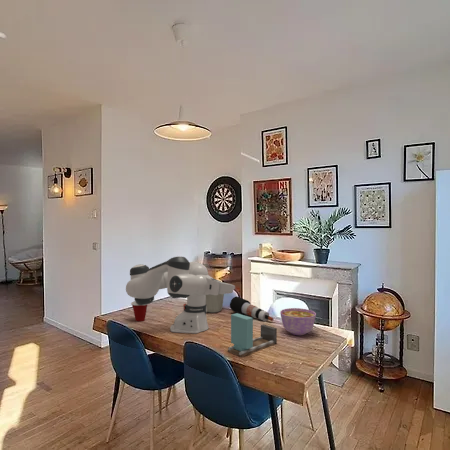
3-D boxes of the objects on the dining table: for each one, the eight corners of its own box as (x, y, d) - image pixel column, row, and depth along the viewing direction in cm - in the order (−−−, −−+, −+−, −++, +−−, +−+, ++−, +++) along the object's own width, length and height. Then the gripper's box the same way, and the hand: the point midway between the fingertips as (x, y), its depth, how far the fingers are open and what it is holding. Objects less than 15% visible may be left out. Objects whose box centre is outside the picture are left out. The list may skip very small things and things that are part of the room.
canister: (216, 306, 250) (216, 278, 249) (230, 311, 235) (230, 281, 234) (195, 309, 239) (194, 280, 239) (208, 315, 224) (208, 284, 224)
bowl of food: (290, 325, 205) (290, 306, 204) (321, 332, 192) (322, 311, 192) (273, 333, 189) (273, 313, 189) (306, 341, 176) (306, 319, 176)
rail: (240, 357, 157) (240, 340, 157) (227, 351, 163) (227, 335, 163) (276, 343, 174) (276, 328, 174) (263, 339, 181) (263, 324, 181)
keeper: (246, 353, 158) (246, 319, 157) (230, 347, 166) (230, 314, 166) (253, 350, 161) (253, 317, 161) (237, 344, 169) (237, 313, 169)
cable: (269, 330, 208) (265, 318, 204) (232, 313, 233) (228, 302, 230) (279, 320, 213) (275, 308, 210) (242, 304, 239) (238, 293, 235)
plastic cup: (128, 320, 215) (128, 301, 215) (143, 316, 222) (143, 298, 222) (136, 324, 207) (135, 304, 207) (151, 320, 214) (151, 301, 214)
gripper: (189, 287, 158) (212, 288, 167) (217, 296, 142) (241, 296, 151) (191, 274, 158) (214, 275, 167) (219, 281, 143) (242, 282, 152)
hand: (227, 285), depth 159 cm, fingers open, 8 cm apart
